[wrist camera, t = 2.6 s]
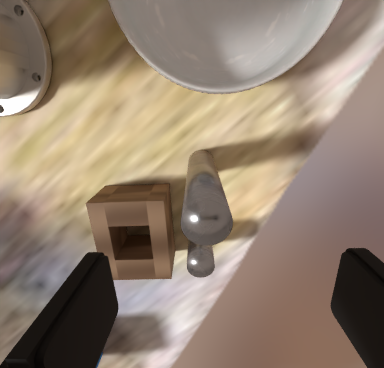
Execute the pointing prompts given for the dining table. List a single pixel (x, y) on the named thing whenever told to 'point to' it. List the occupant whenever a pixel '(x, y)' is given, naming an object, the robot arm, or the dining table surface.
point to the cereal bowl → (223, 38)
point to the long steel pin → (205, 202)
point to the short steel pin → (200, 259)
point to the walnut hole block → (134, 216)
